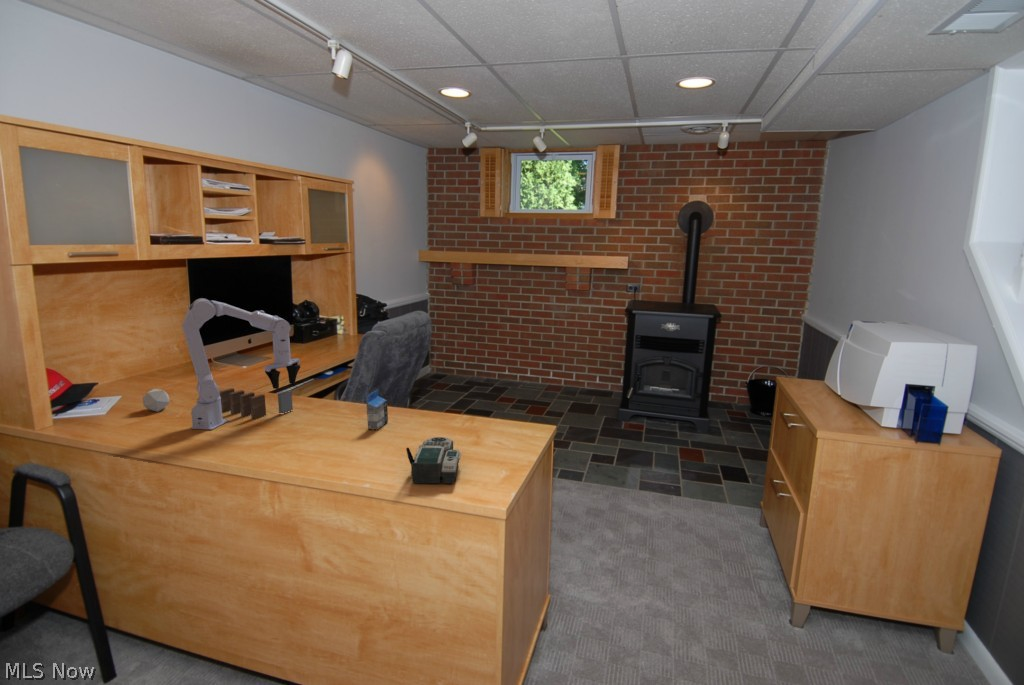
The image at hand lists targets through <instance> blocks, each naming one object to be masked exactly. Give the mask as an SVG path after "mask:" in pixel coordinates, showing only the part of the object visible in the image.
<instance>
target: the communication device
mask: <svg viewBox="0 0 1024 685" xmlns="http://www.w3.org/2000/svg"><path fill="white" fill-rule="evenodd" d="M405 449H406V454H407V458H408V461H409V464H410V466H411V470H410V471H411V472H410V473H411V475H410V476H411V478H412V483H413V484H440V483H441V482H442V483H443V484H448V485H449V484H451V485H453V484H454V483H455V482H456V481H457V478H458V472H459V462H460V460H461V456H462V452H460V450H459V449H454V441H453V440H452V439H451V438H449V437H444V436H435V437H434V436H433V437H428V438H426V439H425V440H424V441H423V442H422V444H420V445H419V446H418V448H417V451H416V453H415V456H414V457H413V454H412V452H411V449H410V448H409V447H406V448H405Z"/></svg>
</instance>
